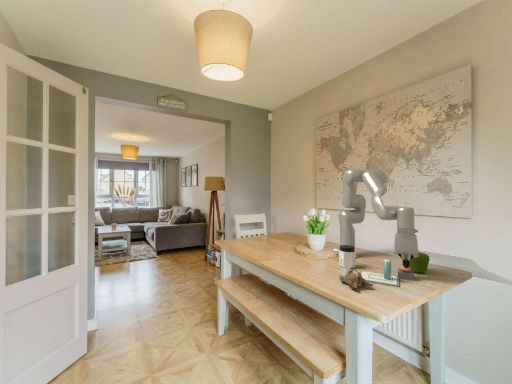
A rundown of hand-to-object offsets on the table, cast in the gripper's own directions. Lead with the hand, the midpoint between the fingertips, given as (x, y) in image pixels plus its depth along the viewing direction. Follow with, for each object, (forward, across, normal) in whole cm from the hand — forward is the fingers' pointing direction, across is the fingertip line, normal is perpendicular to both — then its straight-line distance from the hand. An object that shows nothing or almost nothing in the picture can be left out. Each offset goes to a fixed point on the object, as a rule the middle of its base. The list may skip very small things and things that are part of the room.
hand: (406, 267), depth 123 cm
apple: (+5, -5, -14) cm, 16 cm away
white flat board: (+5, +12, +9) cm, 16 cm away
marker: (+4, +8, +9) cm, 13 cm away
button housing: (+5, 0, 0) cm, 5 cm away
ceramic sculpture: (+6, +22, +25) cm, 34 cm away
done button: (+4, 0, 0) cm, 5 cm away
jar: (+5, +29, -4) cm, 30 cm away
